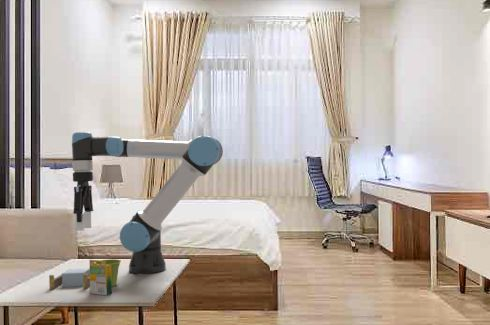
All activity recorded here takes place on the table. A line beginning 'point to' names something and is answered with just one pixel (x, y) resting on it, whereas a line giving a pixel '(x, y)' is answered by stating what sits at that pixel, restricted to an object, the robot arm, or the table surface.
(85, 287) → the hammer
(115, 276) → the plant pot
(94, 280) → the crayon box
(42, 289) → the table surface
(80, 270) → the block
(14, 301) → the table surface
